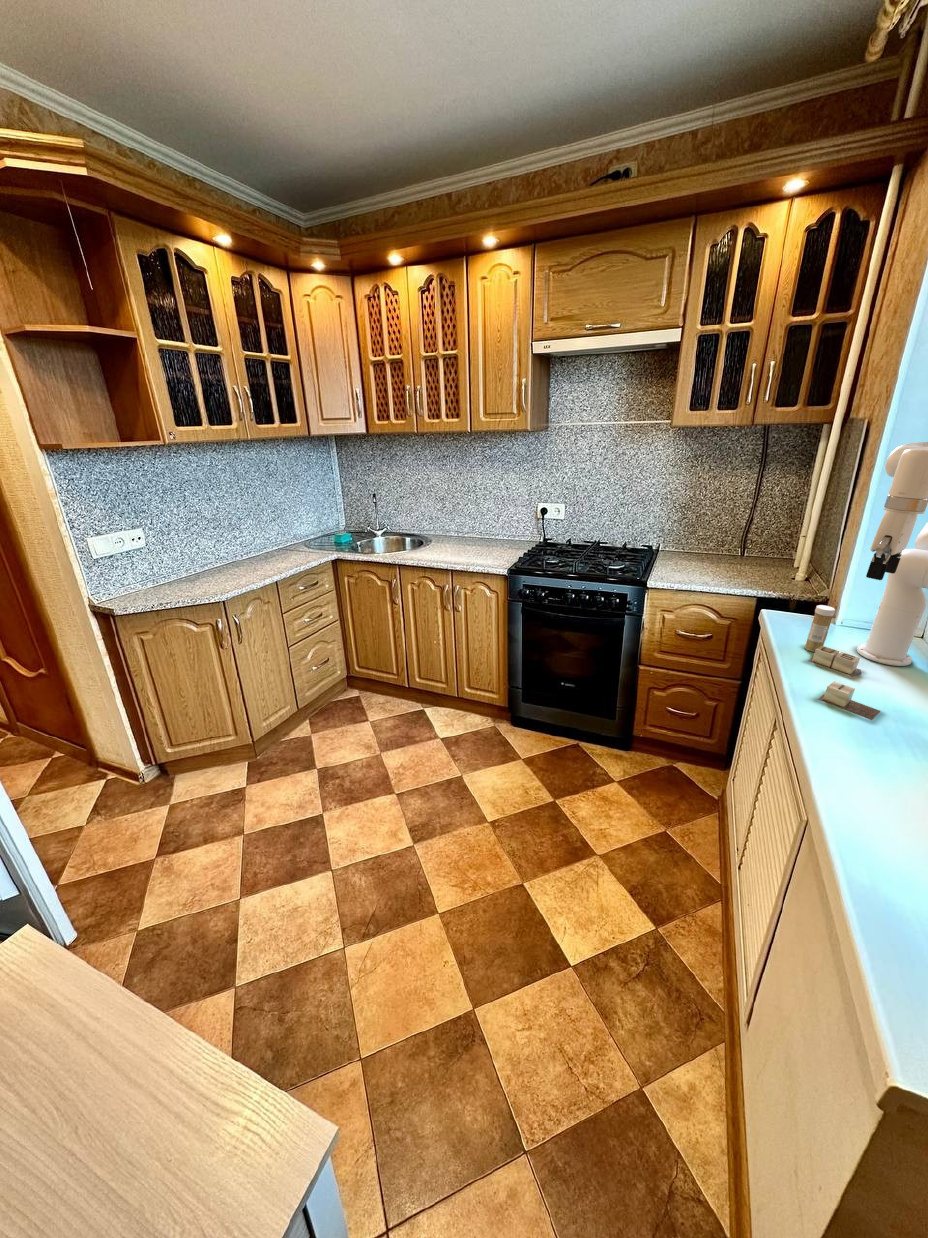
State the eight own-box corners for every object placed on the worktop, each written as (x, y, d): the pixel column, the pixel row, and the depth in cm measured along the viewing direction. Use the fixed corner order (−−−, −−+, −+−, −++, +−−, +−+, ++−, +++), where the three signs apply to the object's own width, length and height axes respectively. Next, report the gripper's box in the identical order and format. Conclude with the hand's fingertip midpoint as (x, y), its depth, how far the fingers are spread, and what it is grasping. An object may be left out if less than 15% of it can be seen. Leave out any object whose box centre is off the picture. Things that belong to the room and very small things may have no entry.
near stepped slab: (826, 693, 127) (832, 678, 125) (880, 713, 119) (886, 697, 117) (816, 701, 123) (822, 685, 121) (870, 722, 115) (877, 705, 113)
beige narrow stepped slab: (815, 656, 146) (820, 643, 144) (860, 671, 138) (865, 657, 136) (806, 662, 142) (811, 648, 141) (852, 678, 134) (857, 664, 133)
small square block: (837, 663, 141) (841, 651, 139) (855, 669, 138) (860, 657, 136) (831, 667, 138) (835, 655, 137) (850, 674, 135) (854, 661, 134)
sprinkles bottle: (824, 650, 150) (838, 608, 145) (817, 654, 148) (831, 611, 142) (808, 645, 153) (821, 603, 148) (800, 648, 151) (813, 606, 146)
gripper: (896, 499, 125) (873, 566, 132) (873, 505, 115) (850, 577, 122) (935, 504, 120) (909, 573, 126) (915, 510, 110) (888, 585, 116)
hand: (880, 575), depth 124 cm, fingers open, 9 cm apart
